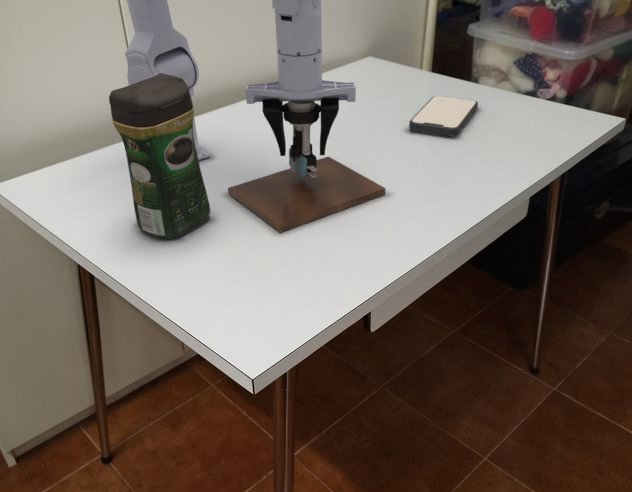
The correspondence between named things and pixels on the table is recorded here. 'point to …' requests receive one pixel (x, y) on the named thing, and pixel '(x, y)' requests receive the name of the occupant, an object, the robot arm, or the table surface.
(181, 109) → the coffee jar
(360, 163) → the table surface
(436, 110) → the phone case
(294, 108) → the push button
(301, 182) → the walnut board
